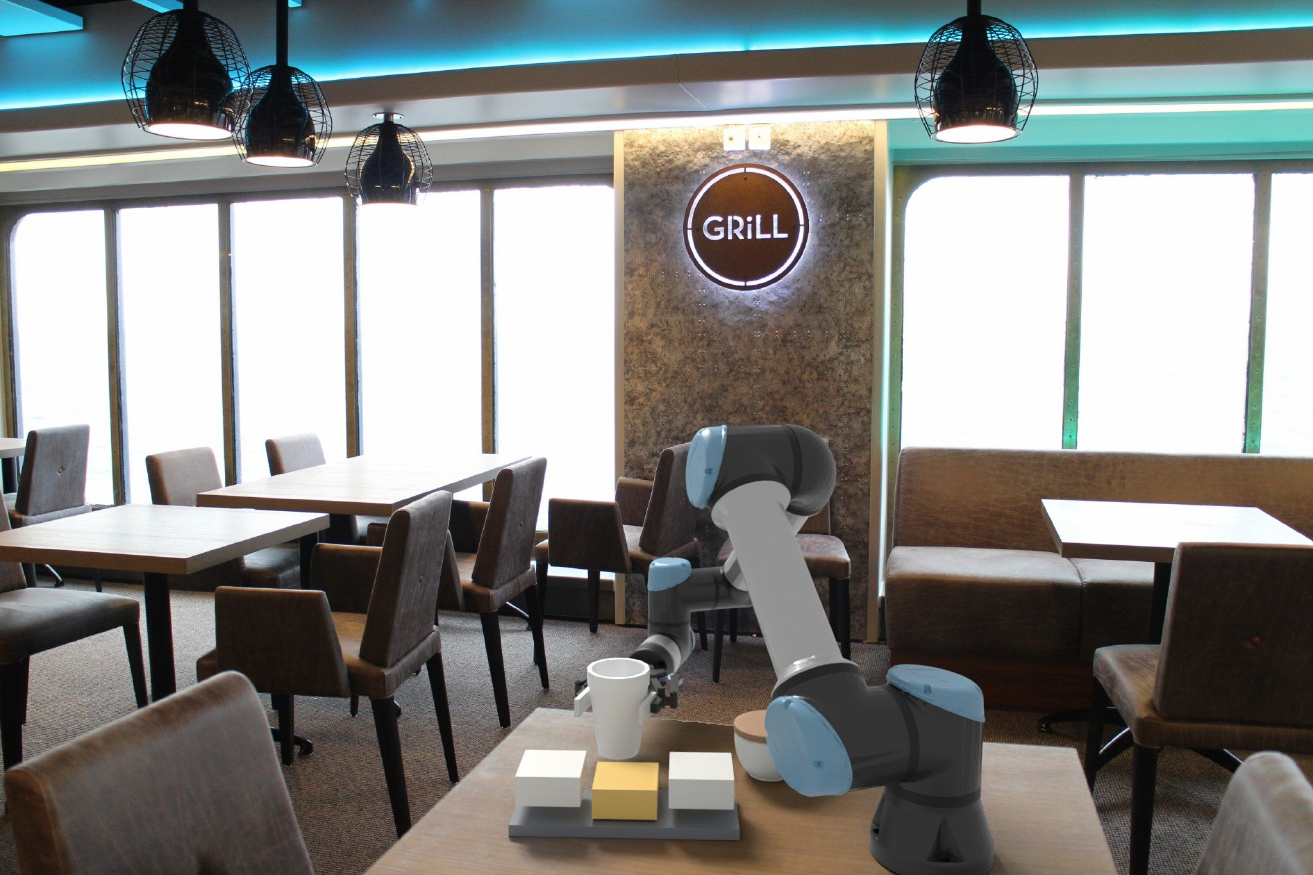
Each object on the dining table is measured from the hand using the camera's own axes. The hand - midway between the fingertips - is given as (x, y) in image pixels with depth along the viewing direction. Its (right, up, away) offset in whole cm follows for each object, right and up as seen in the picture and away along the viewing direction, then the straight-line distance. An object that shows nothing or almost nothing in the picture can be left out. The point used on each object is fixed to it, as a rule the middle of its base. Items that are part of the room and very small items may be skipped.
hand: (608, 712), depth 144 cm
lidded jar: (+24, -10, +3) cm, 26 cm away
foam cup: (+1, -7, +5) cm, 9 cm away
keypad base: (+3, -11, -11) cm, 16 cm away
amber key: (+3, -9, -11) cm, 15 cm away
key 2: (+13, -8, -12) cm, 19 cm away
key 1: (-7, -8, -11) cm, 15 cm away
